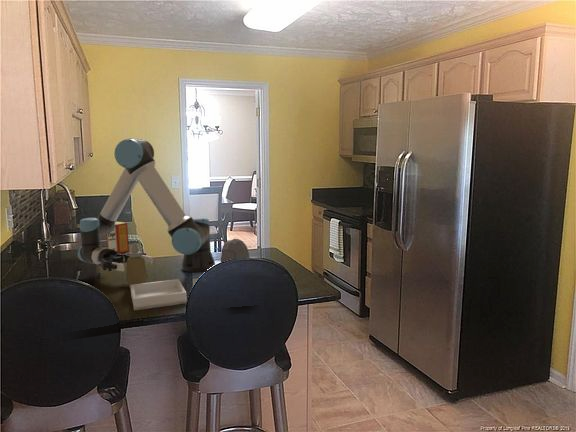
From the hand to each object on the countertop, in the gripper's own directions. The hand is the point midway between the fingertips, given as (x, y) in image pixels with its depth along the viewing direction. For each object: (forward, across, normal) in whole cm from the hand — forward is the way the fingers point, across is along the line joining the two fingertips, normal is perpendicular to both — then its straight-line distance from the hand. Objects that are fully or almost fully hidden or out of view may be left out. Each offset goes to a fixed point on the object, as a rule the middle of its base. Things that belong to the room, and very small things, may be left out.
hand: (138, 263), depth 181 cm
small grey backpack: (+34, -20, -10) cm, 41 cm away
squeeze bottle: (-2, 0, -10) cm, 10 cm away
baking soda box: (-63, -36, -10) cm, 73 cm away
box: (+17, +5, -10) cm, 20 cm away
